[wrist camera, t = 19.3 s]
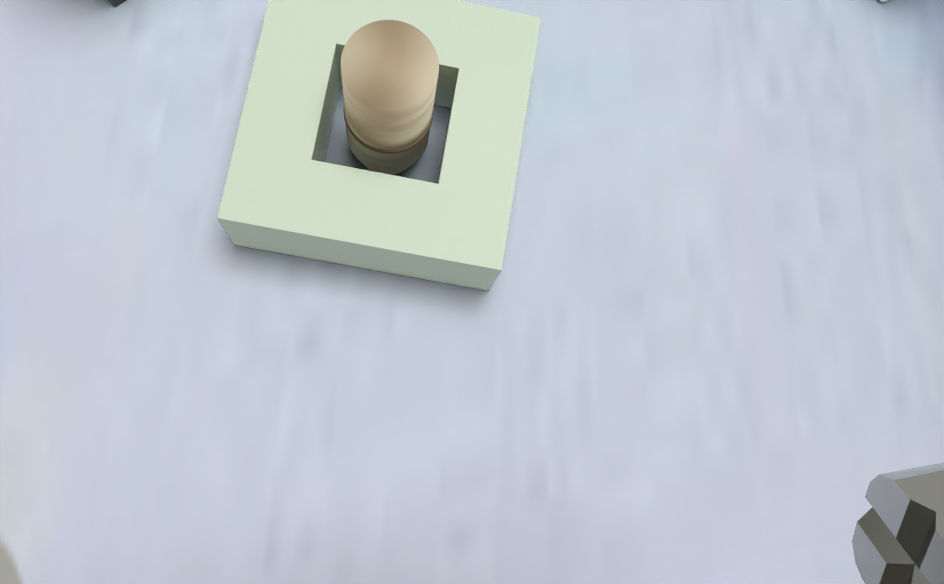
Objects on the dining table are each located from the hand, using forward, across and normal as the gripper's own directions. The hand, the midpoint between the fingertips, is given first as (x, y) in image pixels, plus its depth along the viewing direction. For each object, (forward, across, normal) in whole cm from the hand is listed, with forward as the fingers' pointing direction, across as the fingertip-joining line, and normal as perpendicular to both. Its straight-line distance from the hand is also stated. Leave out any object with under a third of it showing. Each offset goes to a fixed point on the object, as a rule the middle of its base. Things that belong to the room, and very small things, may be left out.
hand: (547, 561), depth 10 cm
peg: (+38, +1, -12) cm, 40 cm away
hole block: (+38, +1, -12) cm, 40 cm away
